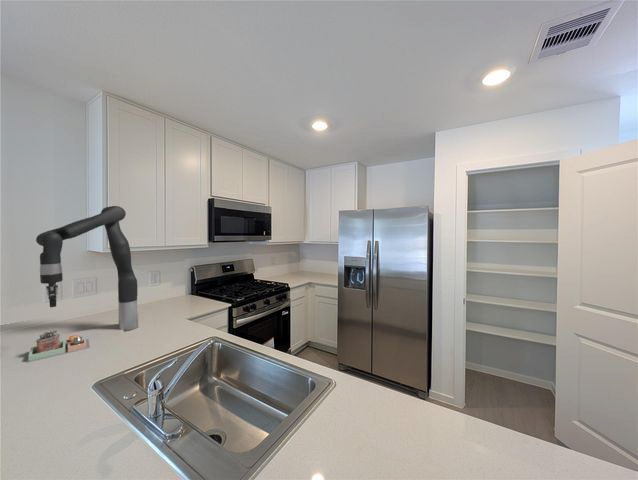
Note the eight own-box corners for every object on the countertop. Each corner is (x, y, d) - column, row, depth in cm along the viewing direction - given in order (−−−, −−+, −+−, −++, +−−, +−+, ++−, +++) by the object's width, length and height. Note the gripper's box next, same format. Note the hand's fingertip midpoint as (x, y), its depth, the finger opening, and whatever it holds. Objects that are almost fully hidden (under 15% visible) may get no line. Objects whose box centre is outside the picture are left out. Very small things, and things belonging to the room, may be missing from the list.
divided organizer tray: (88, 341, 136) (88, 334, 136) (89, 350, 126) (89, 342, 126) (29, 354, 121) (29, 346, 121) (26, 365, 111) (25, 357, 111)
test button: (78, 341, 132) (78, 334, 132) (79, 344, 130) (78, 336, 130) (69, 343, 130) (69, 336, 130) (69, 346, 127) (69, 338, 127)
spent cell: (79, 345, 128) (79, 335, 128) (82, 347, 127) (83, 336, 126) (71, 348, 125) (72, 337, 125) (74, 349, 124) (75, 338, 124)
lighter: (38, 356, 117) (38, 335, 116) (35, 355, 118) (34, 334, 117) (61, 349, 124) (61, 329, 124) (57, 348, 125) (57, 328, 125)
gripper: (40, 272, 125) (42, 303, 126) (39, 275, 116) (41, 310, 116) (62, 270, 131) (63, 300, 132) (62, 273, 121) (64, 306, 122)
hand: (53, 305), depth 124 cm, fingers open, 8 cm apart
